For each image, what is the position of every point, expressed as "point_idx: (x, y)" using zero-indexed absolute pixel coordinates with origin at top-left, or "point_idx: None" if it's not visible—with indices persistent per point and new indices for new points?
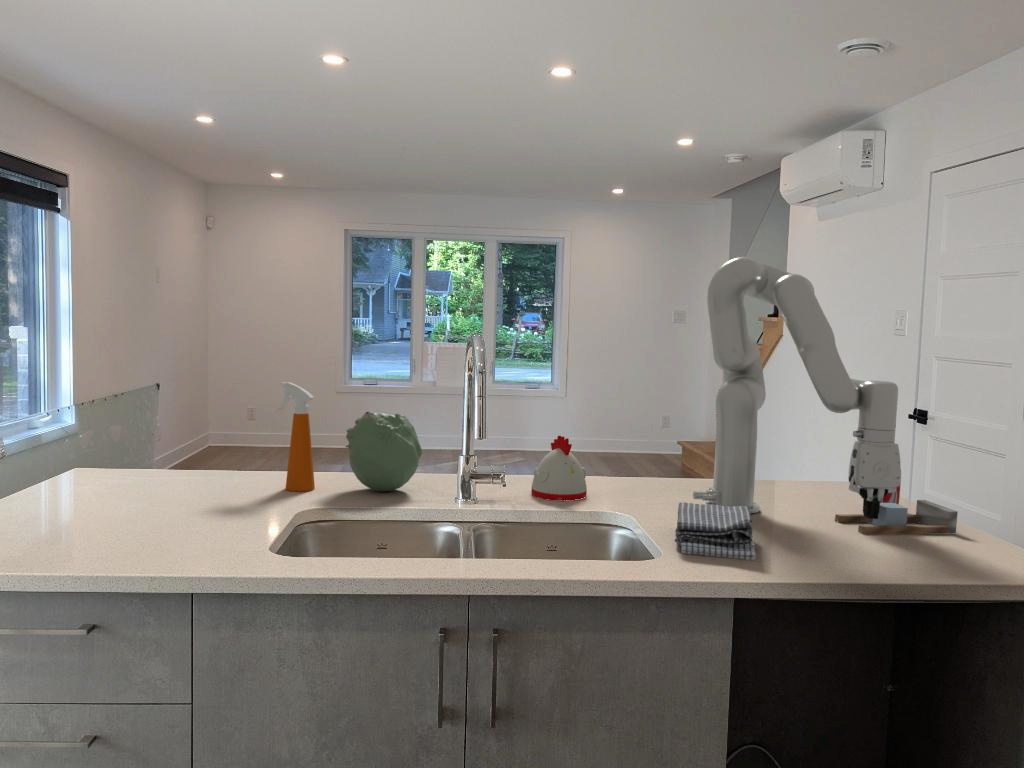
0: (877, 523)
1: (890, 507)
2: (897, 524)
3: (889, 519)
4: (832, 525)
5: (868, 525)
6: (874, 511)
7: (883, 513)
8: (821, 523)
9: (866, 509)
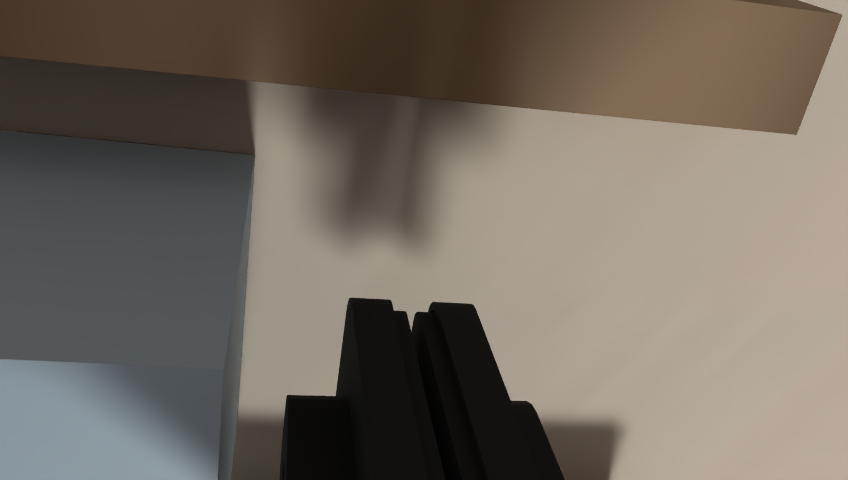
0: (239, 353)
1: (73, 406)
2: (5, 169)
3: (162, 223)
4: (776, 391)
5: (657, 101)
6: (440, 382)
7: (231, 356)
8: (819, 459)
9: (547, 460)
